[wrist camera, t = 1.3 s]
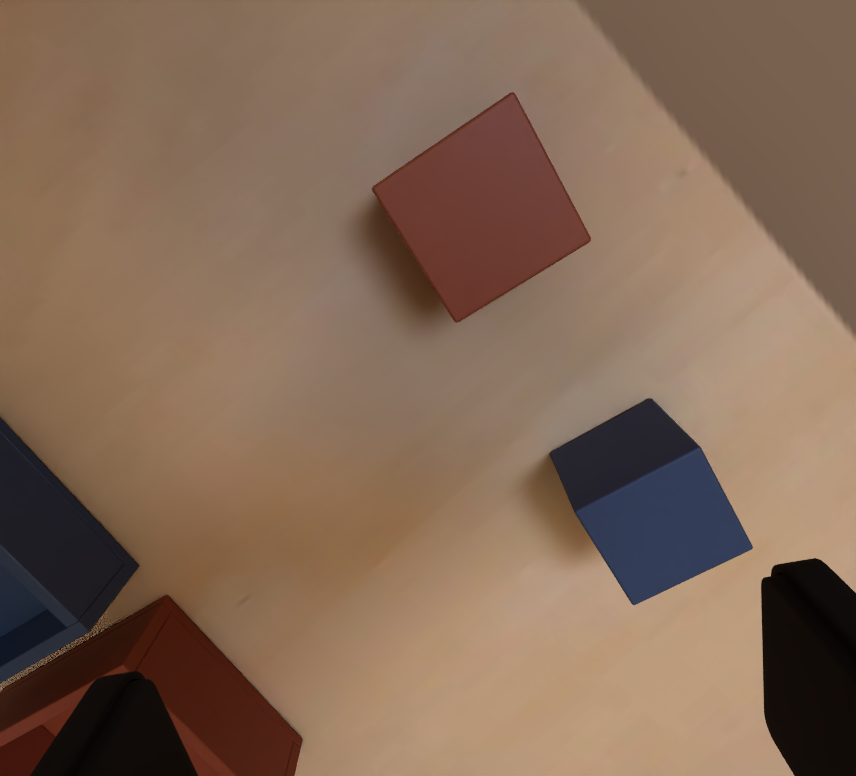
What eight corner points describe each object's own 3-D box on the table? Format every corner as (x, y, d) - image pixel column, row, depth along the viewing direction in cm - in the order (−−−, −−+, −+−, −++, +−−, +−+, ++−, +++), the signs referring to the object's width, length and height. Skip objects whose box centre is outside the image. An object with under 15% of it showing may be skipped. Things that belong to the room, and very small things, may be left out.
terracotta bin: (3, 688, 28) (-64, 767, 24) (167, 594, 26) (122, 664, 22) (146, 815, 31) (106, 904, 27) (303, 739, 29) (284, 823, 25)
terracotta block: (383, 186, 20) (370, 188, 16) (496, 109, 19) (514, 90, 15) (451, 296, 22) (456, 324, 17) (559, 228, 21) (592, 240, 16)
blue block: (548, 452, 24) (574, 512, 19) (651, 397, 23) (700, 446, 19) (599, 534, 25) (633, 607, 21) (697, 484, 24) (754, 549, 20)
